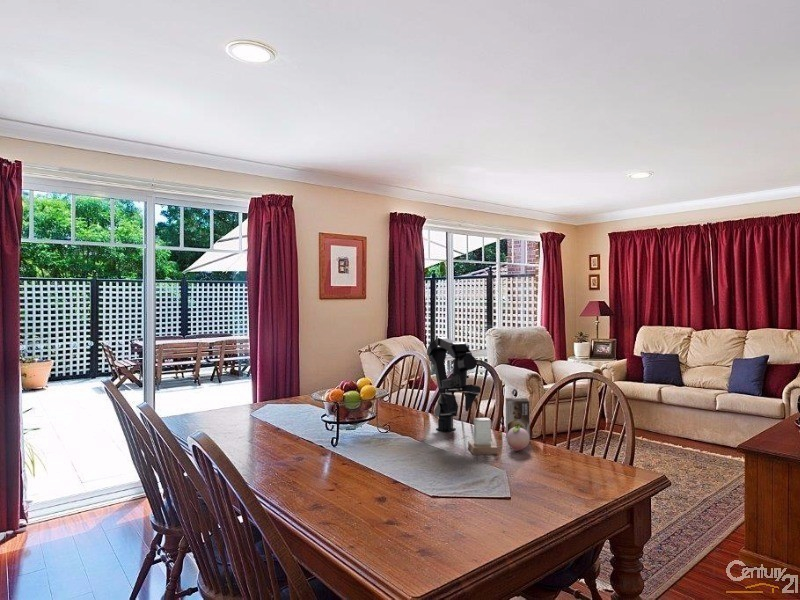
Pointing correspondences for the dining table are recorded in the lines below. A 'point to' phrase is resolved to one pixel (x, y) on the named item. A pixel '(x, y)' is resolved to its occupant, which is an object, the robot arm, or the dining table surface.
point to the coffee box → (517, 414)
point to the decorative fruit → (518, 438)
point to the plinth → (482, 448)
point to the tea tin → (482, 431)
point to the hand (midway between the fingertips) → (458, 411)
